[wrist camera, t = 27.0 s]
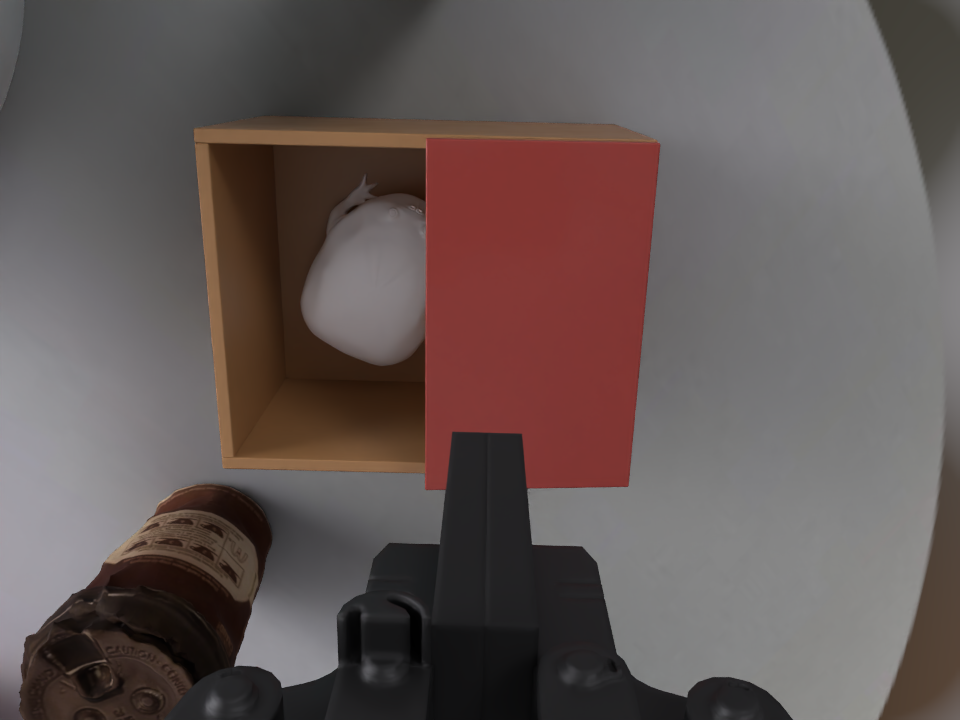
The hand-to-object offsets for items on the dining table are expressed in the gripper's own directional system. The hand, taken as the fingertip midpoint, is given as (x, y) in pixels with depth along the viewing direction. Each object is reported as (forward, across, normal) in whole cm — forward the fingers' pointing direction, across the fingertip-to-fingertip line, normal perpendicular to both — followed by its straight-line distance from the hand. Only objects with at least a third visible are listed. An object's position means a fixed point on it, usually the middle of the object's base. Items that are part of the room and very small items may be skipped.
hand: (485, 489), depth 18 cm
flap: (+13, +2, 0) cm, 13 cm away
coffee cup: (+23, -14, -15) cm, 31 cm away
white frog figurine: (+22, -5, 0) cm, 23 cm away
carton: (+23, -2, 0) cm, 23 cm away
